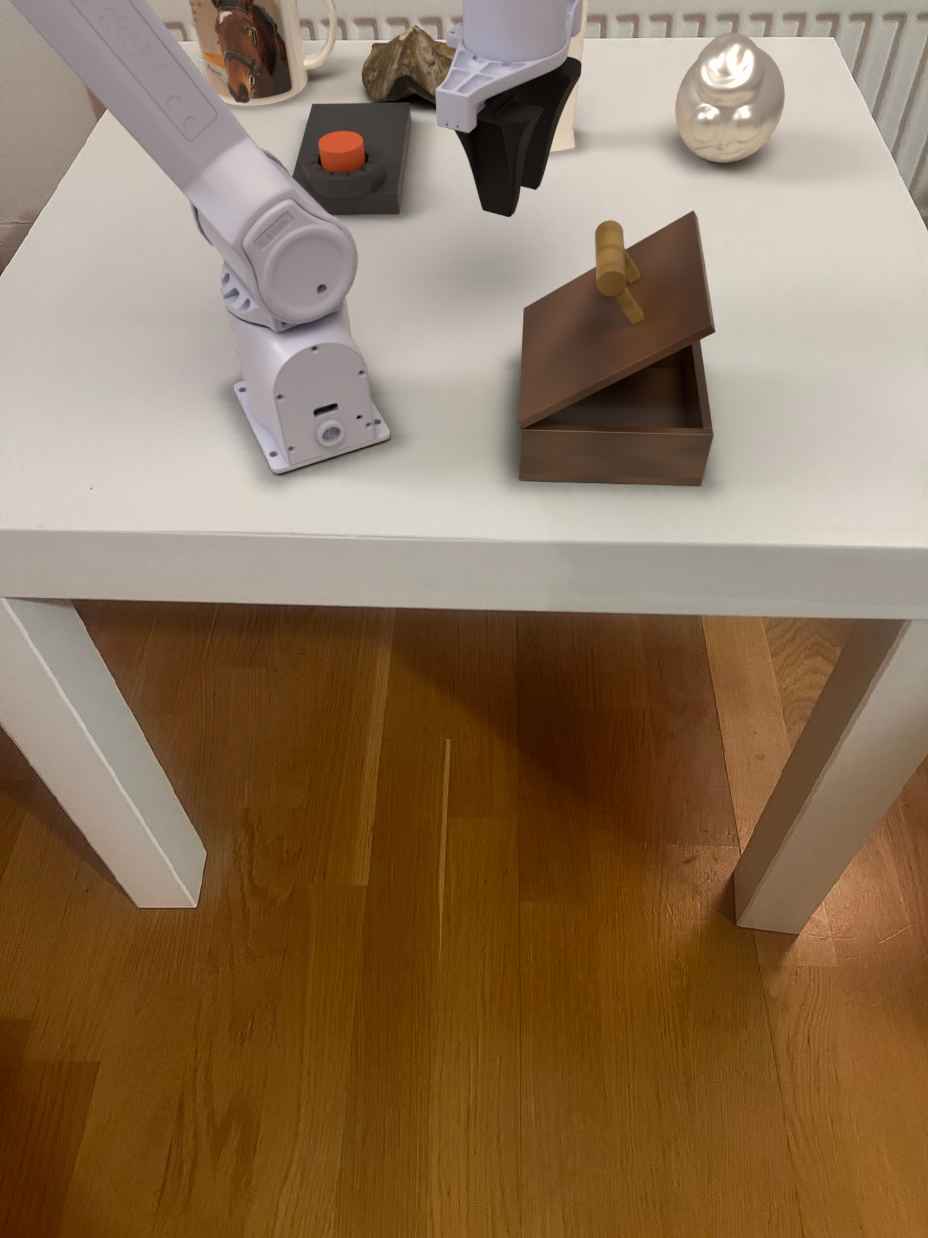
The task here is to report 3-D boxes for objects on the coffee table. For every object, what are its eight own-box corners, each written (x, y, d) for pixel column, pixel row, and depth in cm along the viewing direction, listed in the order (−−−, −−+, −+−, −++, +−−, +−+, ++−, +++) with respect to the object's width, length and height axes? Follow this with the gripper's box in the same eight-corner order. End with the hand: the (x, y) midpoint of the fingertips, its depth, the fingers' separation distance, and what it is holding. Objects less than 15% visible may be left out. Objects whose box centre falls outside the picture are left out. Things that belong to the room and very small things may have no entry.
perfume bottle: (592, 143, 84) (609, -54, 72) (553, 158, 82) (564, -40, 70) (561, 124, 86) (572, -70, 74) (522, 138, 85) (527, -58, 73)
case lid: (697, 217, 56) (663, 154, 53) (716, 332, 49) (677, 267, 46) (528, 314, 62) (488, 262, 59) (523, 428, 55) (478, 376, 52)
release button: (363, 173, 75) (361, 151, 74) (318, 174, 75) (315, 152, 74) (367, 151, 78) (365, 130, 76) (324, 152, 78) (321, 130, 76)
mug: (261, 52, 97) (238, -76, 88) (350, 79, 93) (335, -52, 84) (188, 90, 92) (156, -41, 83) (278, 121, 88) (255, -13, 79)
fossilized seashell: (485, 57, 89) (395, 59, 93) (459, 3, 83) (364, 8, 87) (463, 130, 89) (374, 129, 93) (435, 81, 83) (341, 82, 87)
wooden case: (687, 370, 64) (697, 318, 61) (701, 486, 57) (714, 435, 54) (523, 366, 65) (525, 315, 62) (519, 480, 58) (520, 430, 55)
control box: (398, 219, 77) (395, 178, 74) (289, 220, 77) (282, 179, 74) (411, 123, 87) (408, 83, 84) (315, 124, 87) (309, 84, 85)
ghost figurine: (641, 156, 82) (658, 30, 74) (715, 122, 86) (738, -2, 78) (719, 197, 78) (745, 67, 70) (794, 159, 81) (826, 32, 73)
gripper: (510, -105, 54) (507, 134, 65) (377, -17, 46) (399, 237, 57) (623, -88, 52) (601, 157, 63) (504, 6, 44) (501, 266, 55)
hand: (511, 197), depth 60 cm, fingers open, 3 cm apart
